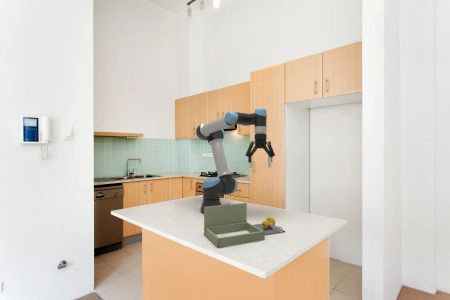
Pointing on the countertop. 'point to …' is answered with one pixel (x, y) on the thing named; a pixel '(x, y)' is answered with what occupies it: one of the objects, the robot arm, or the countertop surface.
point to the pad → (269, 230)
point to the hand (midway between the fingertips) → (260, 167)
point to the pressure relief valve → (270, 224)
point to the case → (229, 225)
